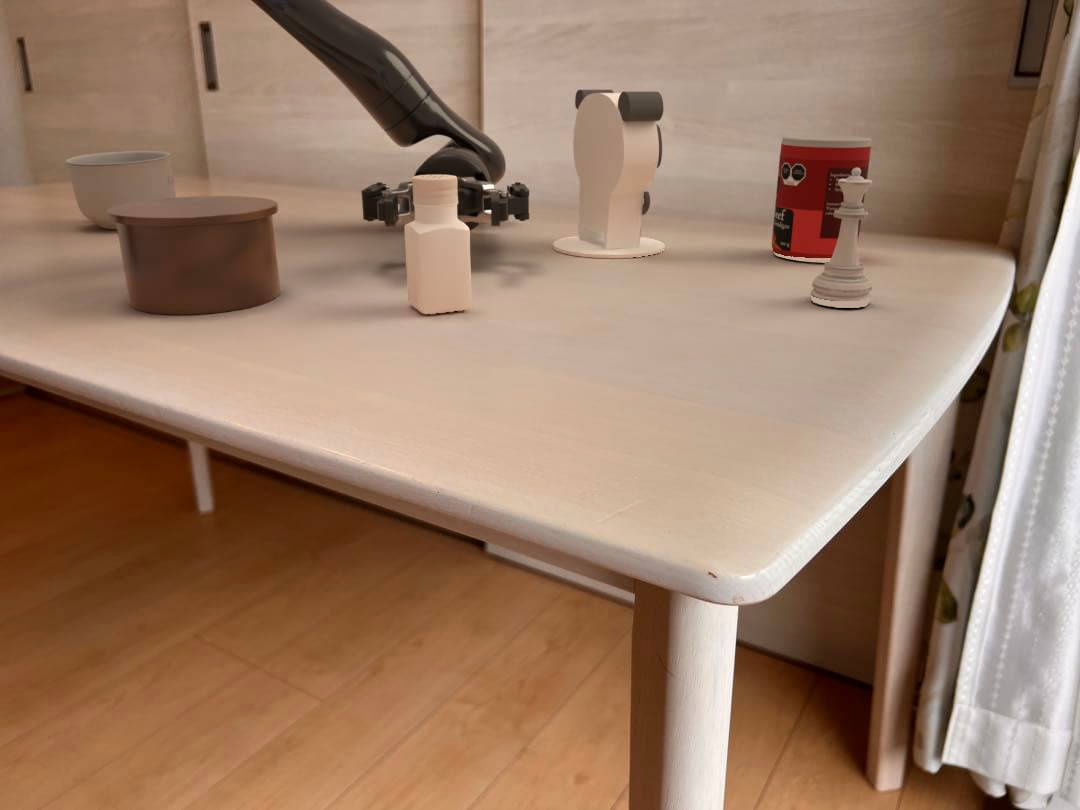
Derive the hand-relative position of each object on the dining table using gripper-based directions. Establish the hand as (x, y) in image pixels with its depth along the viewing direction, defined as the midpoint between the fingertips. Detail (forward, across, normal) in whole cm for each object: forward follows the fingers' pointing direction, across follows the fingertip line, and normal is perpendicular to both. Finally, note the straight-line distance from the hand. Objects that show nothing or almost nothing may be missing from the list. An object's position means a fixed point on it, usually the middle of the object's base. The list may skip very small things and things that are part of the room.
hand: (442, 213), depth 69 cm
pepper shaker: (+8, 0, +6) cm, 10 cm away
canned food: (-12, +35, +6) cm, 37 cm away
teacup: (-34, -40, +6) cm, 52 cm away
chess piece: (+7, +30, +6) cm, 32 cm away
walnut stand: (+3, -18, +6) cm, 20 cm away
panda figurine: (-16, +16, +6) cm, 24 cm away
